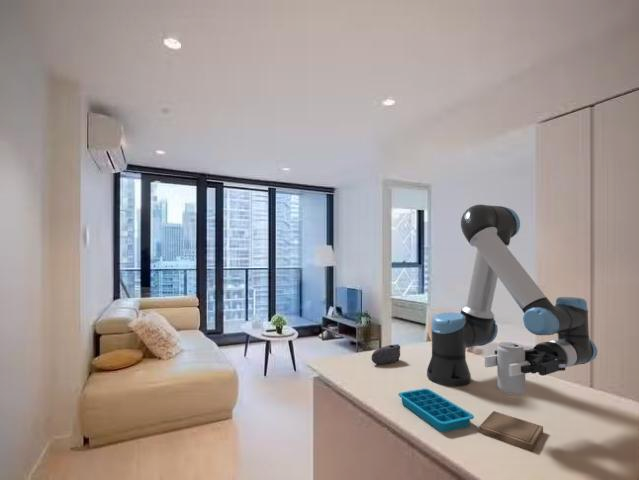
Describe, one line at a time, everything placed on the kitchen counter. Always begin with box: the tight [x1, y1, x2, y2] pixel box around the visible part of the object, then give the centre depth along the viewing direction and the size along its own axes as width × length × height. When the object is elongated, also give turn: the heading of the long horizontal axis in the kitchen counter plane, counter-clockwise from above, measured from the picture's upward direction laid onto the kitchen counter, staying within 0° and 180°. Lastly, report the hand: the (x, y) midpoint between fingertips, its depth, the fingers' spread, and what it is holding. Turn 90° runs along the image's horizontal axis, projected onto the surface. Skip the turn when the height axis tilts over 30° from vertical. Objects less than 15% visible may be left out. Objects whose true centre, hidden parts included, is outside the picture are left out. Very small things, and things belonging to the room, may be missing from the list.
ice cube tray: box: [398, 388, 475, 433], centre depth 99 cm, size 12×20×3 cm, turn 21°
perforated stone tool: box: [371, 343, 401, 365], centre depth 143 cm, size 15×5×7 cm, turn 116°
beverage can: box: [496, 341, 527, 395], centre depth 89 cm, size 6×6×12 cm
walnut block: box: [478, 410, 544, 452], centre depth 89 cm, size 12×12×2 cm
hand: (497, 366), depth 87 cm, fingers closed on beverage can, 6 cm apart
